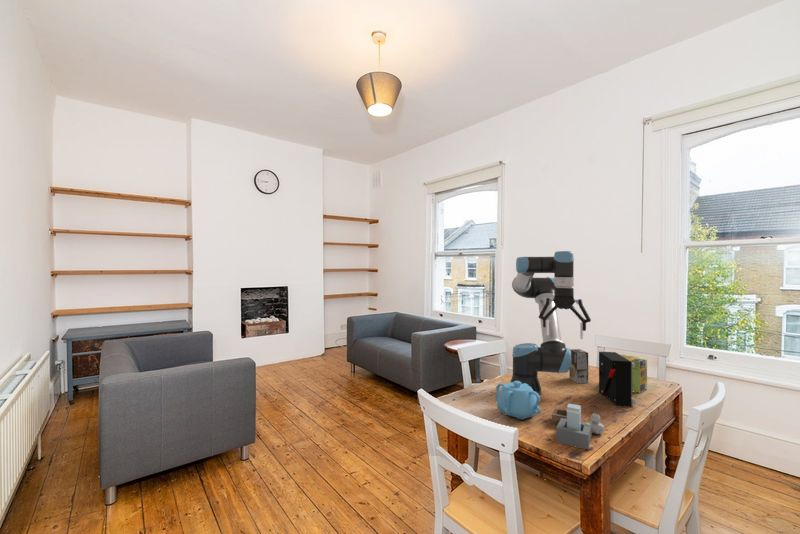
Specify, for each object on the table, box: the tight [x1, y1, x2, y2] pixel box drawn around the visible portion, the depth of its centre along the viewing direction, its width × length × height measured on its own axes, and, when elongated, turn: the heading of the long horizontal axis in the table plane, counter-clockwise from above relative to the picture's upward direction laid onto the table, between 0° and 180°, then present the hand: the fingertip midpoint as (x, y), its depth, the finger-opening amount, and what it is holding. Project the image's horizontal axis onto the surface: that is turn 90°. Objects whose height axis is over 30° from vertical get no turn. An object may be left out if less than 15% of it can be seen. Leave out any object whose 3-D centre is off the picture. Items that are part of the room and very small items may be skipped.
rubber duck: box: [587, 412, 605, 435], centre depth 132 cm, size 5×7×8 cm
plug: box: [566, 403, 582, 431], centre depth 126 cm, size 4×4×12 cm
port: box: [555, 418, 592, 450], centre depth 126 cm, size 10×10×5 cm
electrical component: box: [598, 351, 636, 408], centre depth 165 cm, size 18×10×20 cm, turn 168°
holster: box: [551, 407, 567, 427], centre depth 139 cm, size 8×8×4 cm
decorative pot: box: [495, 381, 542, 421], centre depth 148 cm, size 16×16×14 cm
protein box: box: [618, 353, 648, 394], centre depth 181 cm, size 10×15×16 cm
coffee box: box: [568, 348, 589, 384], centre depth 192 cm, size 9×6×16 cm
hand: (564, 336), depth 151 cm, fingers open, 13 cm apart
